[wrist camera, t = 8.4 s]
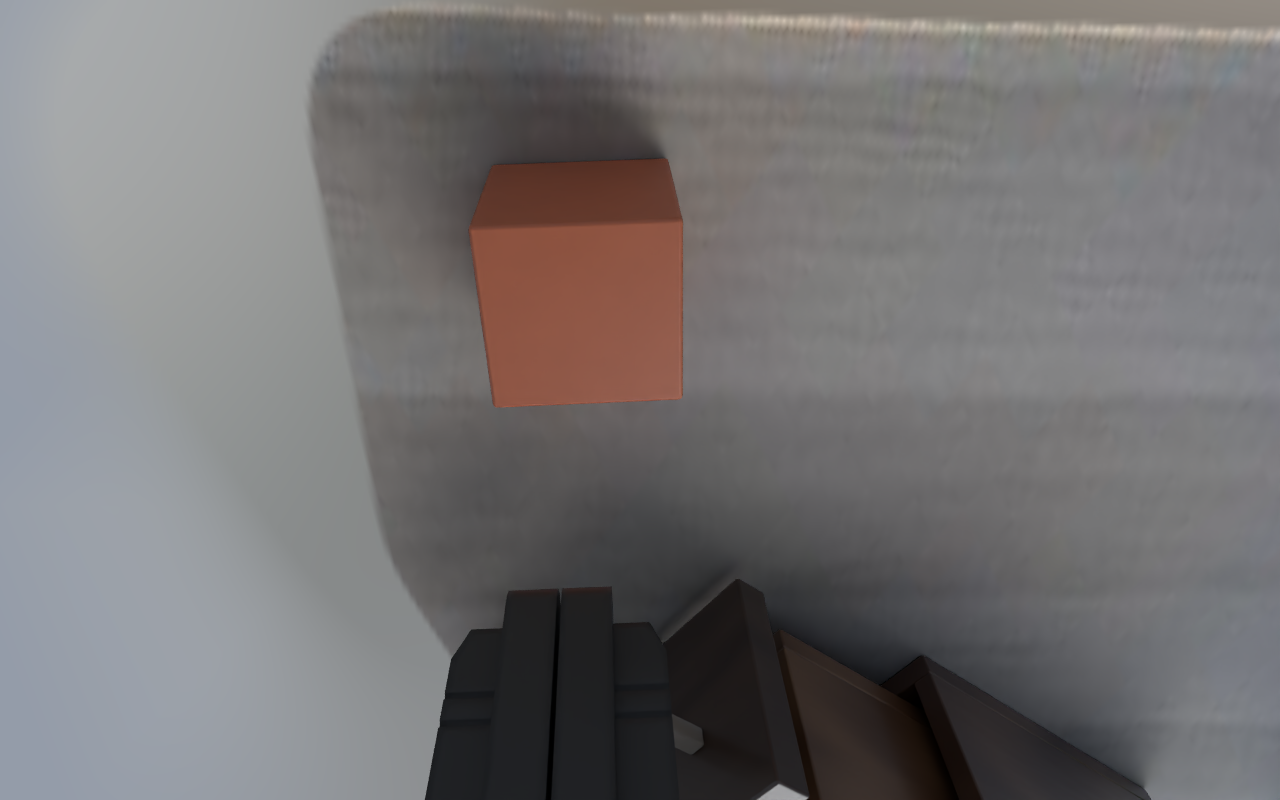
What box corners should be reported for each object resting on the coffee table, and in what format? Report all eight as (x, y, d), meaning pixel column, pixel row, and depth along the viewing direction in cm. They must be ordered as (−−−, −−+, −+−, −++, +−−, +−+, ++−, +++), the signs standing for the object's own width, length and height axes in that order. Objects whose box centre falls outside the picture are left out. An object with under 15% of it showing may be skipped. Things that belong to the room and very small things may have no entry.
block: (509, 323, 23) (492, 409, 19) (490, 163, 21) (467, 226, 17) (669, 316, 23) (683, 400, 19) (668, 157, 21) (683, 218, 17)
